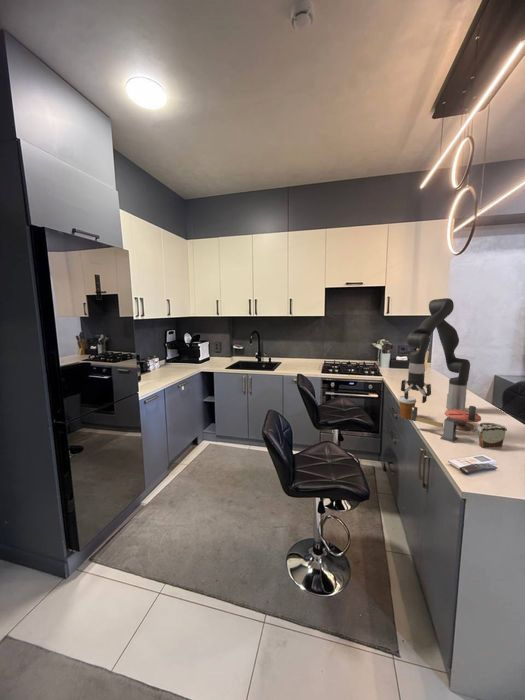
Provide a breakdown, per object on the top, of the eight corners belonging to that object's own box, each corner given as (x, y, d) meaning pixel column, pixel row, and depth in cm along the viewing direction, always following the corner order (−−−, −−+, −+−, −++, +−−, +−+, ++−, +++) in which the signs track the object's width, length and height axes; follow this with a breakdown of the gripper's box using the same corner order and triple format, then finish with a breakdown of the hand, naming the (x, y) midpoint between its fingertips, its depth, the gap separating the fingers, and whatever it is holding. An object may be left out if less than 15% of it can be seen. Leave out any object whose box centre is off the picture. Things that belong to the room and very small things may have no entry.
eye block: (440, 438, 143) (441, 419, 142) (444, 434, 147) (445, 416, 146) (454, 442, 139) (455, 423, 137) (458, 438, 143) (459, 419, 142)
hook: (410, 420, 155) (410, 407, 154) (412, 418, 157) (412, 406, 156) (441, 428, 144) (442, 414, 143) (443, 426, 146) (444, 413, 145)
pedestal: (464, 422, 162) (464, 420, 162) (479, 430, 151) (479, 428, 151) (445, 423, 162) (445, 420, 162) (459, 431, 151) (459, 428, 151)
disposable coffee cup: (394, 415, 174) (394, 396, 173) (406, 413, 178) (407, 394, 176) (406, 421, 166) (407, 401, 164) (419, 418, 169) (420, 399, 167)
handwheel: (438, 418, 164) (439, 397, 163) (467, 418, 164) (468, 397, 162) (456, 430, 148) (458, 407, 146) (488, 430, 148) (490, 407, 146)
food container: (494, 441, 140) (496, 421, 138) (505, 447, 134) (507, 426, 132) (469, 442, 139) (471, 422, 138) (479, 448, 133) (481, 427, 132)
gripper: (399, 370, 154) (398, 399, 156) (428, 374, 143) (427, 405, 146) (405, 368, 158) (404, 396, 161) (434, 372, 148) (432, 402, 150)
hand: (415, 400), depth 153 cm, fingers open, 8 cm apart
